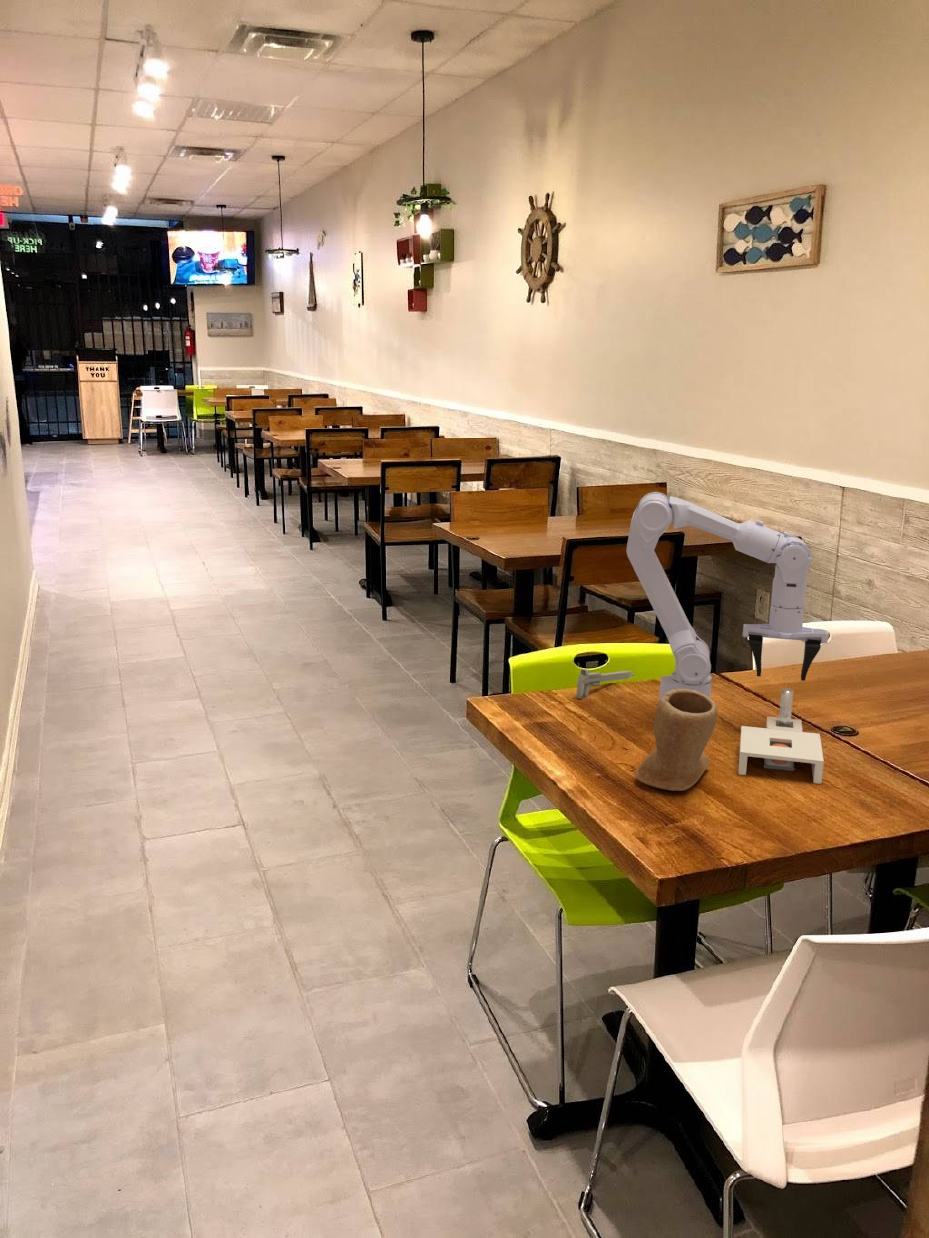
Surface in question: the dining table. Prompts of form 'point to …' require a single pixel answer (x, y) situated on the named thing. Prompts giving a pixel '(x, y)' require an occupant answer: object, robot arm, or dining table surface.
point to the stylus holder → (794, 726)
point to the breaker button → (779, 762)
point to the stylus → (785, 707)
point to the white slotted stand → (781, 748)
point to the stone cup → (679, 740)
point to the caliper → (597, 680)
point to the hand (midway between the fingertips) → (780, 676)
